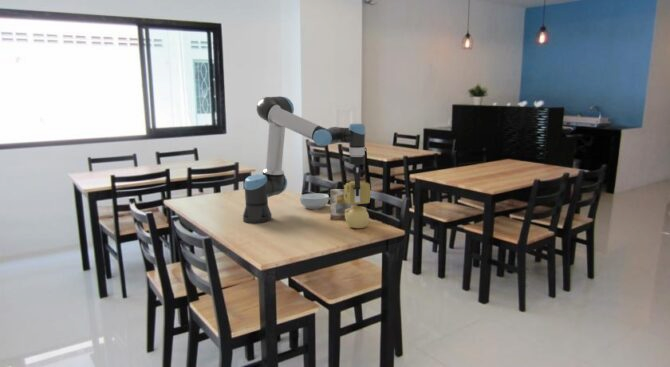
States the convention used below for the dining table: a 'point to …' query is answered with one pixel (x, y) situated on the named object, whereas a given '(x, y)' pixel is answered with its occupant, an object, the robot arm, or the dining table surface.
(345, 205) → the stand
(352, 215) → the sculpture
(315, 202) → the cereal bowl
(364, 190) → the cheese
